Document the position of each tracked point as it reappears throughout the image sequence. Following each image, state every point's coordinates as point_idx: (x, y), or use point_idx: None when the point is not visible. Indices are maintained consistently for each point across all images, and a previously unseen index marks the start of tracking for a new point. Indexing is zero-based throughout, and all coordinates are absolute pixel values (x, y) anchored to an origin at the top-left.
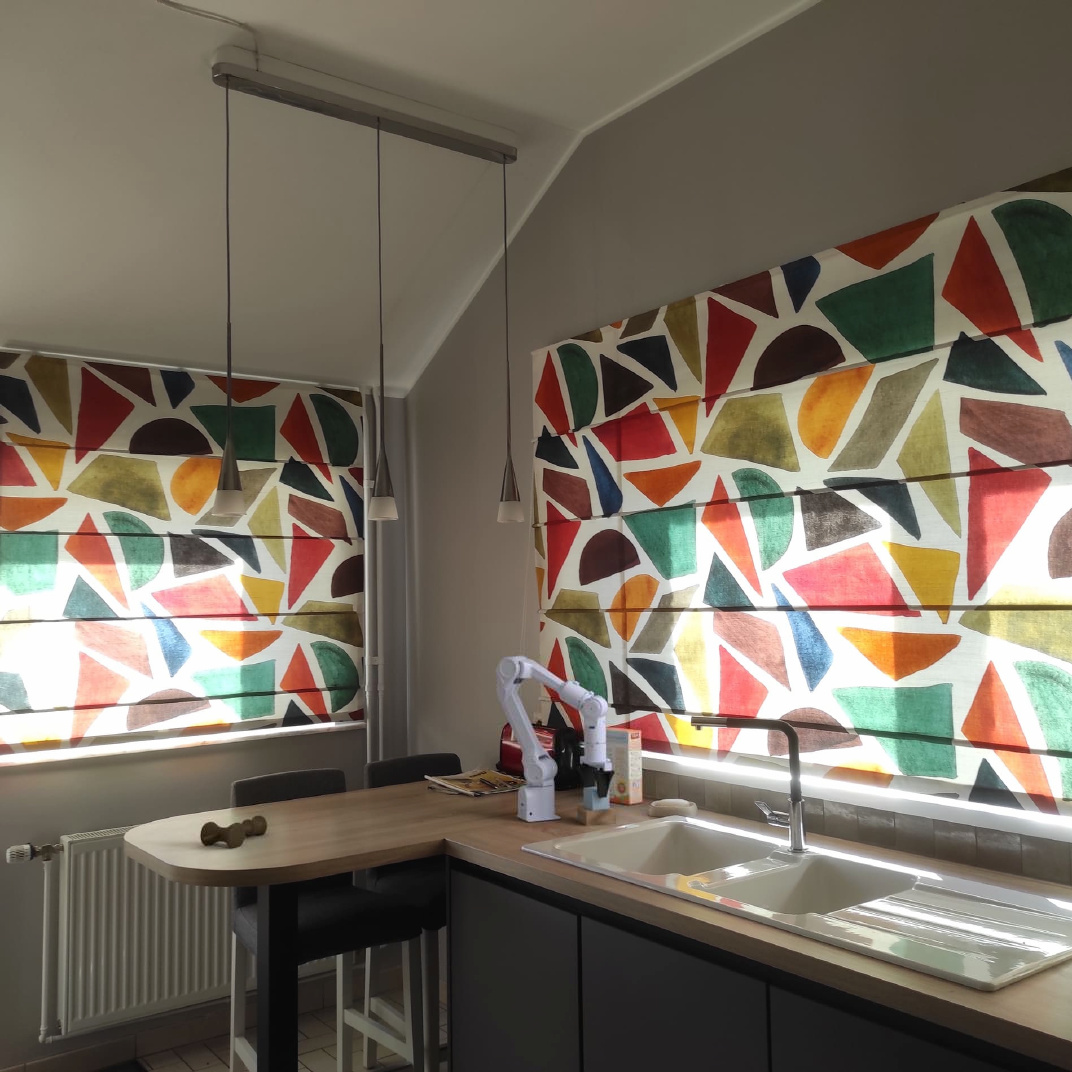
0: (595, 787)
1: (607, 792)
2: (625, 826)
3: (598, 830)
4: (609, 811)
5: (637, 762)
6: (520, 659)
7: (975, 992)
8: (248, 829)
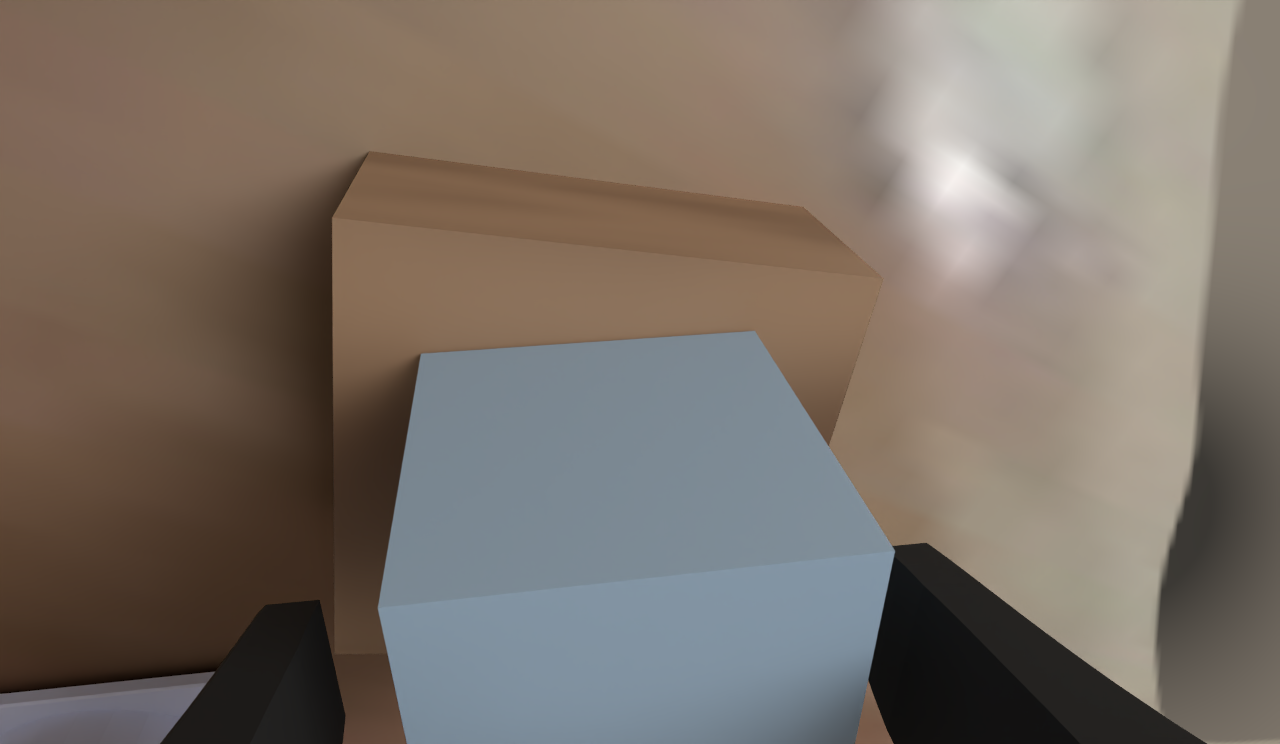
0: (519, 732)
1: (998, 601)
2: (983, 160)
3: (950, 500)
4: (845, 368)
5: None
6: None
7: None
8: None
